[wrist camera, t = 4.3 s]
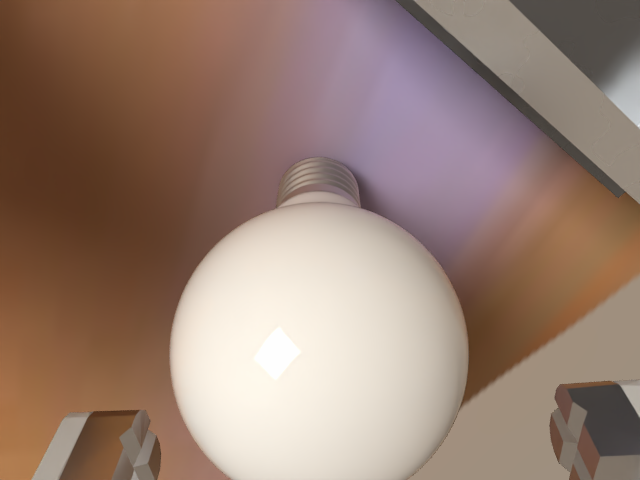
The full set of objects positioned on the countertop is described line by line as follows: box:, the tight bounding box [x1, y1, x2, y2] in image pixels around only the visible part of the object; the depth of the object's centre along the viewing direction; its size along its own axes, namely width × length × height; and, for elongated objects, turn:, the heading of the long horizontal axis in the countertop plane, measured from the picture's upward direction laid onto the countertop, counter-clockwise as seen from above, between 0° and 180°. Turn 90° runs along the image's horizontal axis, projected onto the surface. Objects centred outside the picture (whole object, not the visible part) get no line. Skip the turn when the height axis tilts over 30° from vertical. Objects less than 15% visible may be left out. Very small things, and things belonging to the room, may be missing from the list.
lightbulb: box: [169, 157, 469, 480], centre depth 14 cm, size 6×6×11 cm
